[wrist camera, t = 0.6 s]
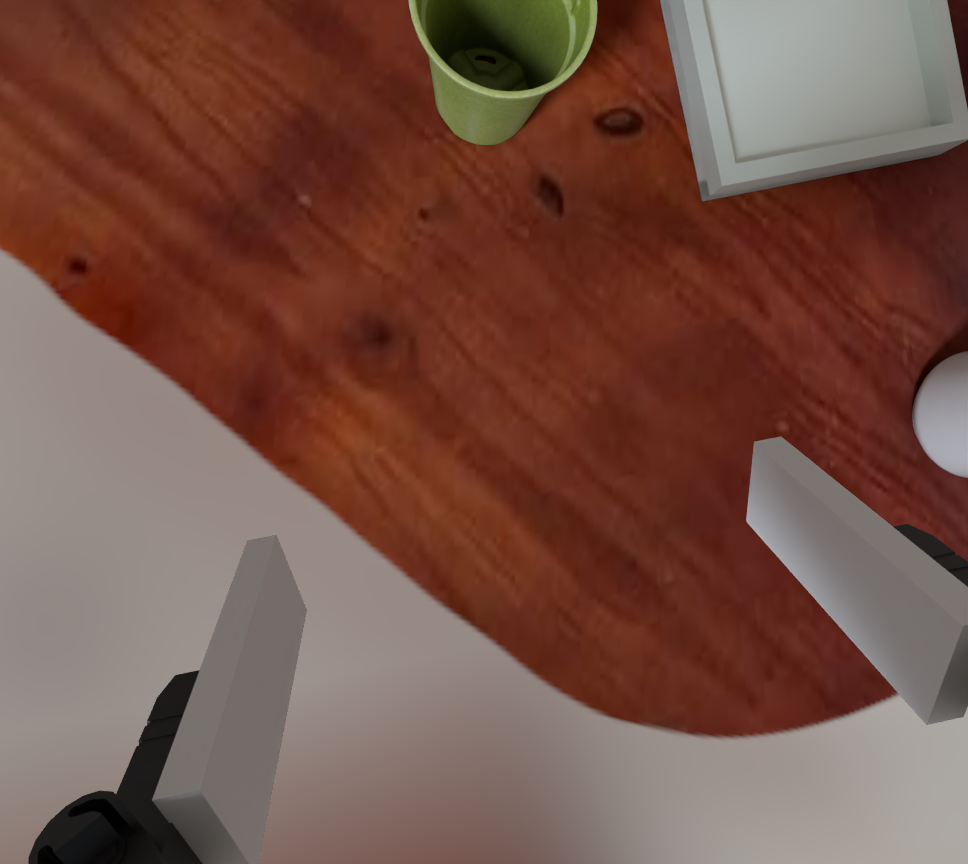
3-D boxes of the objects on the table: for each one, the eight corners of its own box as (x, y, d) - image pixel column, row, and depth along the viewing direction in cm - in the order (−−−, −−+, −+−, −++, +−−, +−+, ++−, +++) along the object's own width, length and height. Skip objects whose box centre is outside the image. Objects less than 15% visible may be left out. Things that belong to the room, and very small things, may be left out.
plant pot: (560, 35, 37) (604, -83, 28) (550, 181, 37) (591, 108, 28) (415, 13, 36) (414, -116, 27) (405, 163, 36) (401, 82, 27)
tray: (645, -71, 38) (661, -106, 35) (888, -104, 40) (920, -139, 37) (702, 201, 38) (722, 186, 36) (938, 155, 40) (972, 137, 38)
